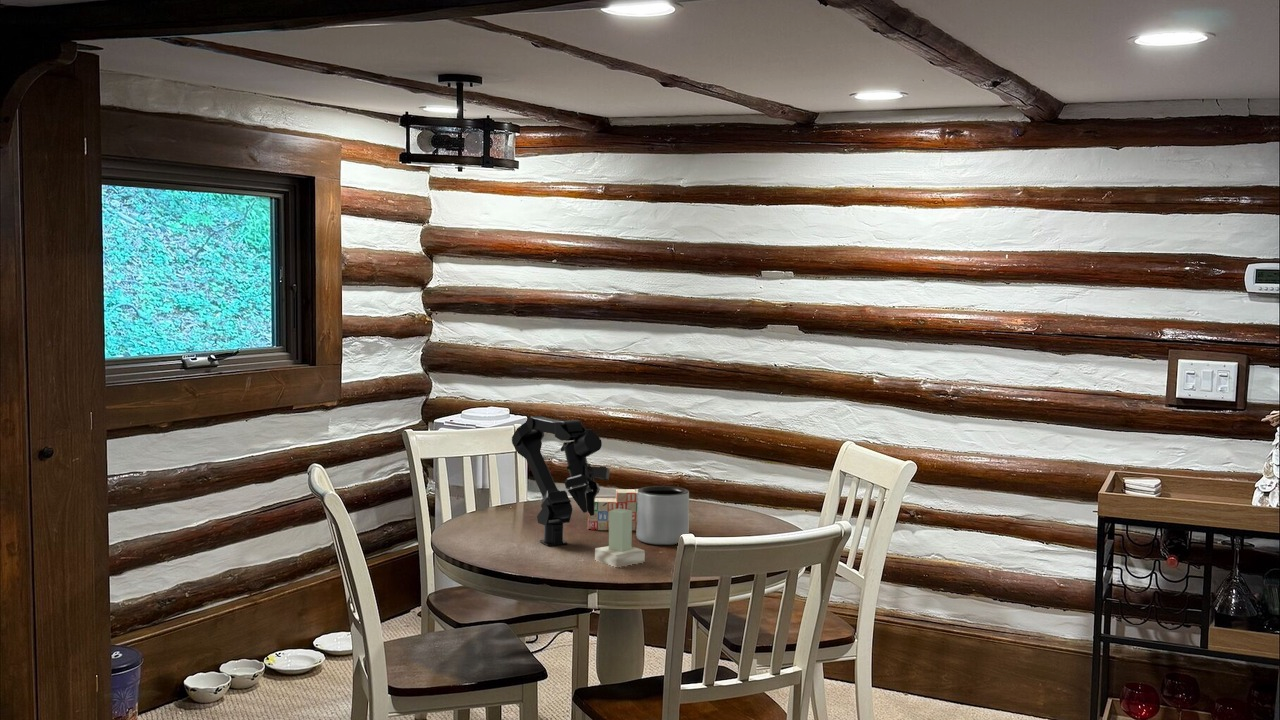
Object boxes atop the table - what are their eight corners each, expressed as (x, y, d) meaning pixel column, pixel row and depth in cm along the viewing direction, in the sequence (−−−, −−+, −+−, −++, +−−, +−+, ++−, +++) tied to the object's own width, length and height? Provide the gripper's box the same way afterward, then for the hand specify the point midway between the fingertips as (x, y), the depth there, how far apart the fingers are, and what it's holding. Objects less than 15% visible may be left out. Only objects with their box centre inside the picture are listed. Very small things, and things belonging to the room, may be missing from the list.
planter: (682, 534, 351) (683, 485, 350) (693, 545, 336) (694, 494, 335) (632, 535, 349) (633, 485, 348) (641, 547, 333) (642, 495, 332)
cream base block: (594, 562, 316) (595, 548, 315) (622, 557, 322) (622, 543, 322) (616, 569, 308) (616, 555, 308) (644, 564, 314) (644, 550, 314)
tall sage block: (608, 549, 314) (609, 510, 313) (618, 546, 318) (618, 508, 317) (621, 551, 312) (622, 513, 311) (631, 548, 315) (632, 510, 315)
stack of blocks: (587, 530, 355) (588, 492, 354) (587, 526, 361) (588, 488, 360) (654, 530, 356) (655, 492, 355) (653, 526, 362) (654, 489, 361)
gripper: (596, 449, 314) (609, 503, 310) (610, 459, 332) (622, 510, 328) (559, 460, 316) (571, 513, 312) (574, 468, 334) (586, 519, 329)
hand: (589, 514), depth 320 cm, fingers open, 9 cm apart
